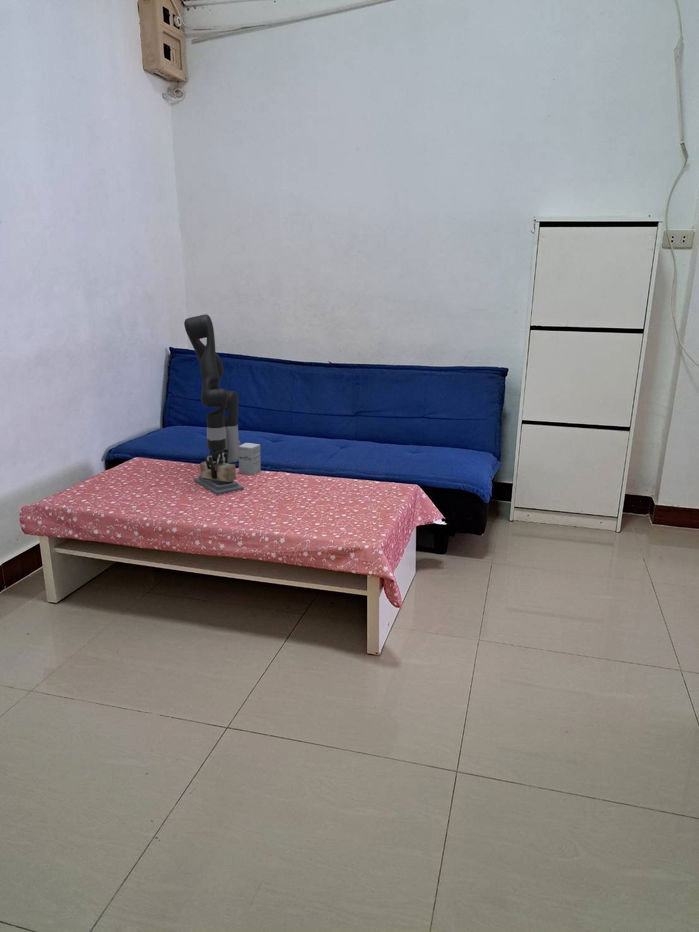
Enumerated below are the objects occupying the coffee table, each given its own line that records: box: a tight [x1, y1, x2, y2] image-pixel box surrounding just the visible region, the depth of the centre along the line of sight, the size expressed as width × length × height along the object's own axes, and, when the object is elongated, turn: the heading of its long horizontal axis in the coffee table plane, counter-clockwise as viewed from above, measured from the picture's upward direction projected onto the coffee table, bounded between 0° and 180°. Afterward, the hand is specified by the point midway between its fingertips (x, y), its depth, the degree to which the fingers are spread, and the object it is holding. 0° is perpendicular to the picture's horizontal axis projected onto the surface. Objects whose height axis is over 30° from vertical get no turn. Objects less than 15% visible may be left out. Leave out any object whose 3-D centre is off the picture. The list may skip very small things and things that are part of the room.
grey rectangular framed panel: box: [193, 475, 244, 496], centre depth 276 cm, size 22×12×3 cm, turn 37°
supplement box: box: [238, 442, 262, 476], centre depth 293 cm, size 7×7×13 cm
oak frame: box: [199, 460, 237, 482], centre depth 275 cm, size 14×5×6 cm, turn 67°
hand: (218, 476), depth 275 cm, fingers closed on oak frame, 5 cm apart
